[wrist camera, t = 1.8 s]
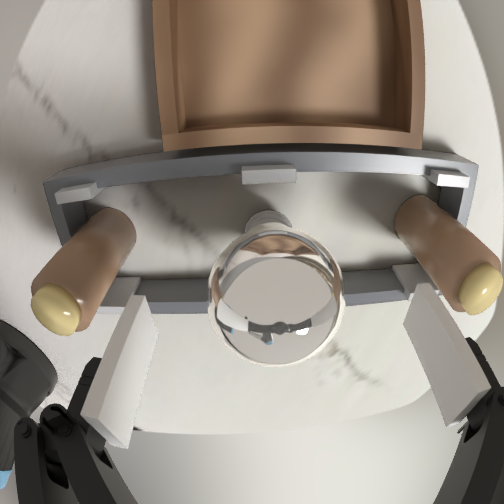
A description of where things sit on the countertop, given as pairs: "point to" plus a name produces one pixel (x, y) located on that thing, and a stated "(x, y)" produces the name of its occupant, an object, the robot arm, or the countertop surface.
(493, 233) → the countertop surface
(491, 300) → the cylinder
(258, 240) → the light bulb
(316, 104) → the tray
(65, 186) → the holder
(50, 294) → the cylinder
